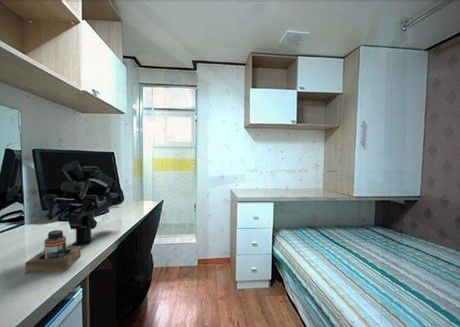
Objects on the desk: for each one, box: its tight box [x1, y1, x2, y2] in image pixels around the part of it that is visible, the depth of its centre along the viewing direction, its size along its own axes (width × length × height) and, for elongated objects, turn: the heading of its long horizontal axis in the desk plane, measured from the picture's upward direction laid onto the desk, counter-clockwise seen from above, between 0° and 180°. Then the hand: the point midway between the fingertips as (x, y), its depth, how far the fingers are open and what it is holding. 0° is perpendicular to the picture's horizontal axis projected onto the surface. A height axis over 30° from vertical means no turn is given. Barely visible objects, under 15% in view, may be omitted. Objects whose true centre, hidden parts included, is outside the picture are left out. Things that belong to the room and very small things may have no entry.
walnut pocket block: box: [24, 246, 82, 275], centre depth 79 cm, size 11×11×4 cm
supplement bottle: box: [43, 229, 67, 259], centre depth 79 cm, size 6×6×11 cm
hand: (63, 219), depth 85 cm, fingers open, 9 cm apart
